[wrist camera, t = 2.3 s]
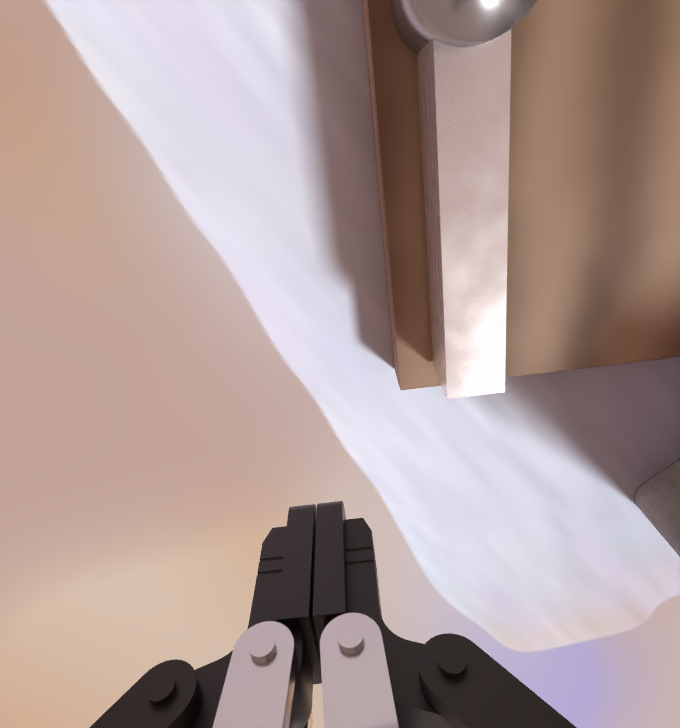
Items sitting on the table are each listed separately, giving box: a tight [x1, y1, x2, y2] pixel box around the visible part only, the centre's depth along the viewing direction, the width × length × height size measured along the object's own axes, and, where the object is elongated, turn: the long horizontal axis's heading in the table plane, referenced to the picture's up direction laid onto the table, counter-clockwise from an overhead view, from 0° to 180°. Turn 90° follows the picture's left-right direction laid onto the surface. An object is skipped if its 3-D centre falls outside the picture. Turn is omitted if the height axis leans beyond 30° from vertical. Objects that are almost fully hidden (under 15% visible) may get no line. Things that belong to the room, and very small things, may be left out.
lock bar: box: [391, 0, 537, 399], centre depth 22 cm, size 20×5×5 cm, turn 7°
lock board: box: [362, 0, 680, 390], centre depth 24 cm, size 24×25×7 cm
